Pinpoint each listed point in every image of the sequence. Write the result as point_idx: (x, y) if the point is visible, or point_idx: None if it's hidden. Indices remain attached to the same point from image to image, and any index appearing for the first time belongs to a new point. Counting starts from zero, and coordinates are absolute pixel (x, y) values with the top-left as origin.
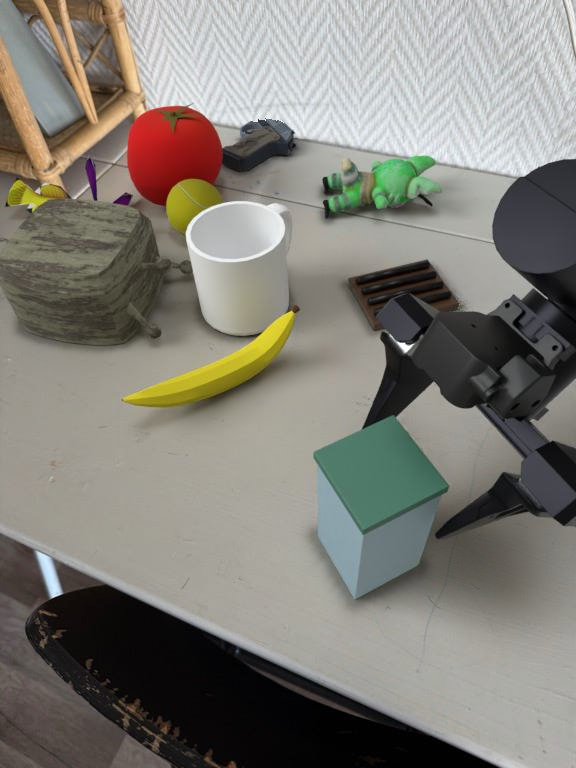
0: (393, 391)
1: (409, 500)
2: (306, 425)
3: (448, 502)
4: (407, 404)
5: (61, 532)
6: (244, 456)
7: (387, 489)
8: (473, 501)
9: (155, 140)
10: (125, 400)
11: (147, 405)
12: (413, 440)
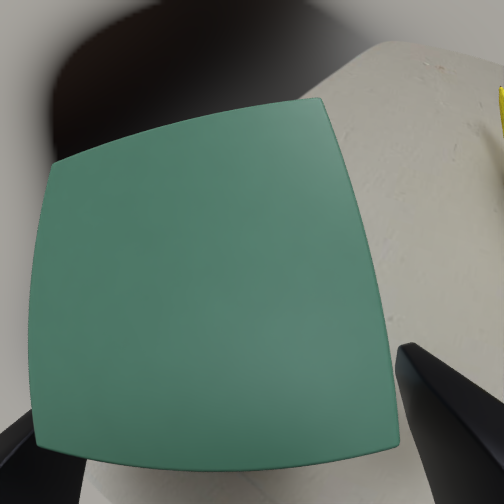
0: (493, 469)
1: (36, 306)
2: (478, 319)
3: (284, 479)
4: (436, 496)
5: (374, 59)
6: (447, 220)
7: (88, 261)
8: (5, 459)
9: None
10: (500, 88)
11: (501, 114)
12: (230, 470)
